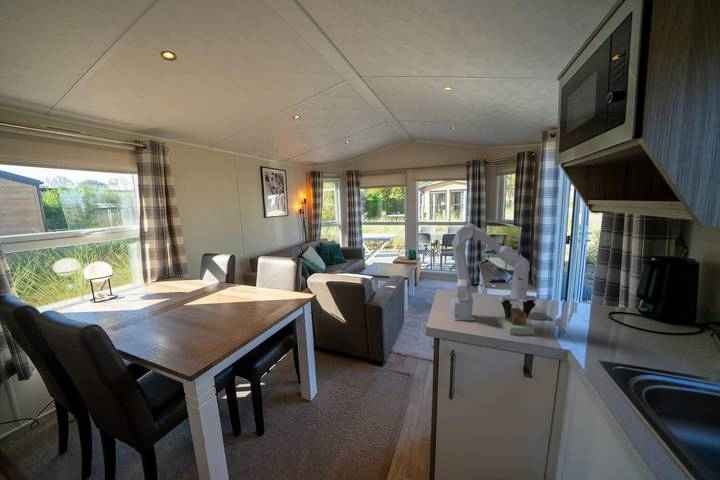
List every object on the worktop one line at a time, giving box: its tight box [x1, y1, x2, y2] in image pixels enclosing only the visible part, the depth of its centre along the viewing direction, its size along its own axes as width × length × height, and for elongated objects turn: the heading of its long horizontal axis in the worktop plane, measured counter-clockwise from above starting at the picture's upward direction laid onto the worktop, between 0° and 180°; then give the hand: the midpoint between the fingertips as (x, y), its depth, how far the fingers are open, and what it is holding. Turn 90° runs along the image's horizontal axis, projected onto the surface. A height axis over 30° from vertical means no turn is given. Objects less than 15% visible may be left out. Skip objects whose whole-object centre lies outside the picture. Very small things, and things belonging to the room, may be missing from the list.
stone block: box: [514, 303, 546, 321], centre depth 126 cm, size 12×5×10 cm
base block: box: [497, 316, 536, 336], centre depth 112 cm, size 10×10×3 cm
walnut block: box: [504, 307, 527, 325], centre depth 112 cm, size 6×6×5 cm
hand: (516, 317), depth 112 cm, fingers open, 7 cm apart
